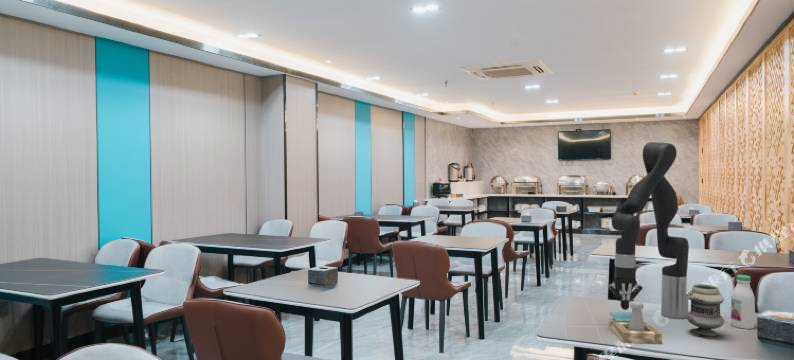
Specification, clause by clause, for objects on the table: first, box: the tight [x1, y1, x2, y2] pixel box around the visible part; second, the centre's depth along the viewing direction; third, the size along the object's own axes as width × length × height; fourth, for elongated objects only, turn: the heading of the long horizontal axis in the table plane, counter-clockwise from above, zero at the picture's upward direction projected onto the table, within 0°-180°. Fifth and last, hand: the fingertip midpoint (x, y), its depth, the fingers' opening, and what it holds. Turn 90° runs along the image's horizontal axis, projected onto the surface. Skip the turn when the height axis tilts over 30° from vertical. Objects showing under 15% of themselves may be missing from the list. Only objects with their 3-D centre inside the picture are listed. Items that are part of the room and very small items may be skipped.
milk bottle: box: [730, 274, 756, 330], centre depth 204 cm, size 8×8×20 cm
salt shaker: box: [628, 300, 645, 331], centre depth 191 cm, size 6×6×13 cm
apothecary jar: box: [686, 283, 725, 339], centre depth 194 cm, size 12×12×18 cm
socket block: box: [609, 318, 663, 345], centre depth 195 cm, size 13×22×4 cm, turn 175°
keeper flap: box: [609, 311, 632, 322], centre depth 203 cm, size 8×9×1 cm
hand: (624, 309), depth 203 cm, fingers closed
